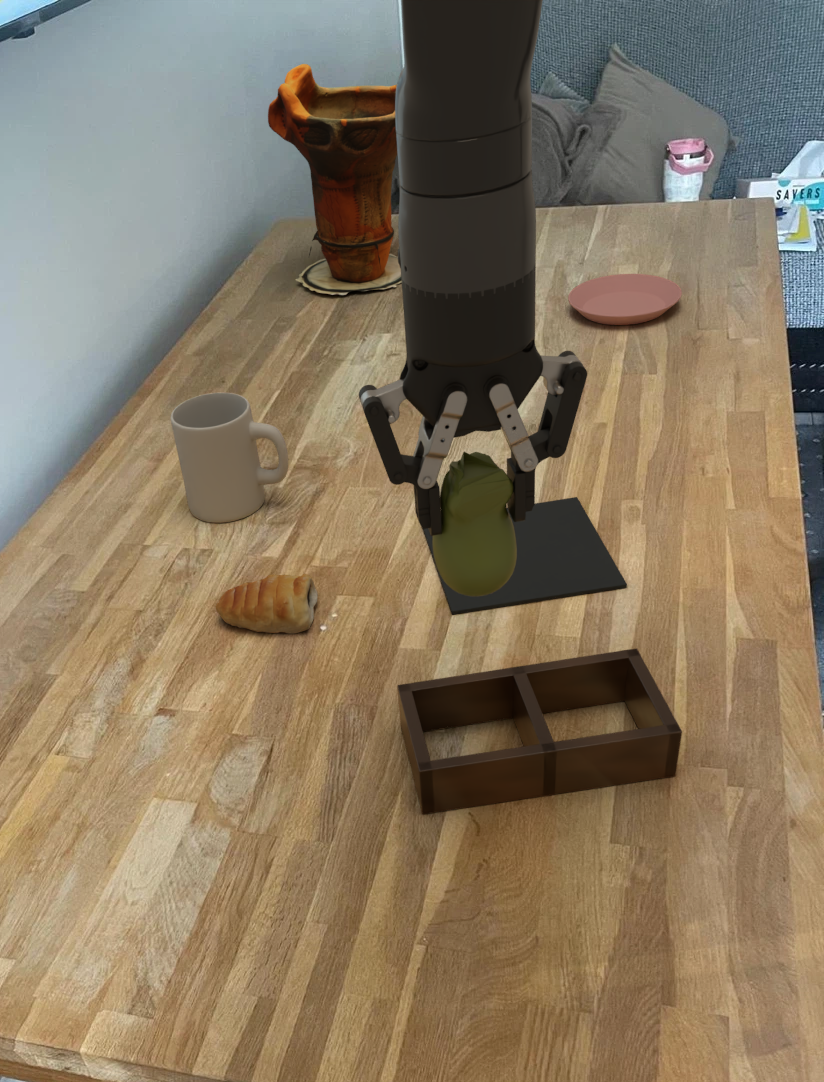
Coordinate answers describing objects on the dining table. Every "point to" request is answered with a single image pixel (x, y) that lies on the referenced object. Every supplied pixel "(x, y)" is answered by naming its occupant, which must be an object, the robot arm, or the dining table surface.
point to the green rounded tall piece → (475, 527)
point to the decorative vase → (344, 177)
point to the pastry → (271, 604)
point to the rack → (538, 731)
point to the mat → (547, 560)
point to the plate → (624, 298)
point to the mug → (224, 456)
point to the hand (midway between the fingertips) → (475, 521)
